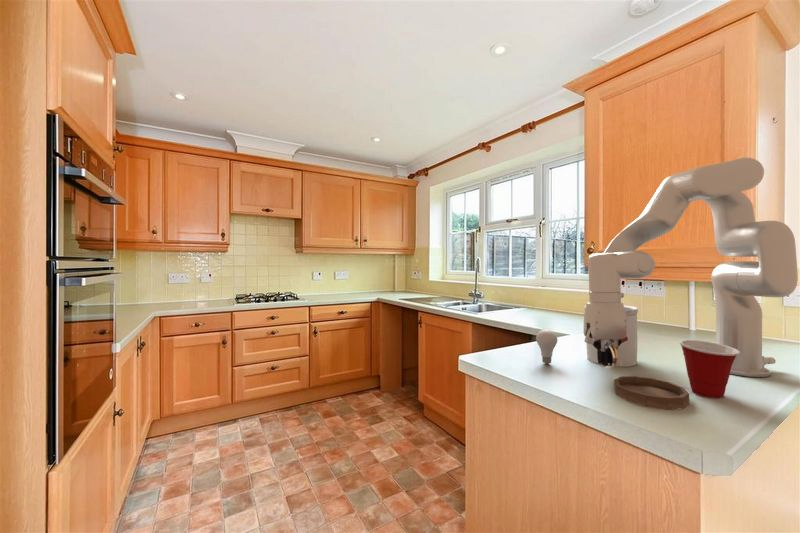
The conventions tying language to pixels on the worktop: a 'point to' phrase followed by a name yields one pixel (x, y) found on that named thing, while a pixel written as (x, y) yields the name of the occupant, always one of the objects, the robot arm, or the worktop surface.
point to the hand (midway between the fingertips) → (606, 363)
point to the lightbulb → (546, 344)
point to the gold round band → (613, 353)
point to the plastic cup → (708, 366)
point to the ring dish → (651, 392)
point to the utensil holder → (627, 348)
